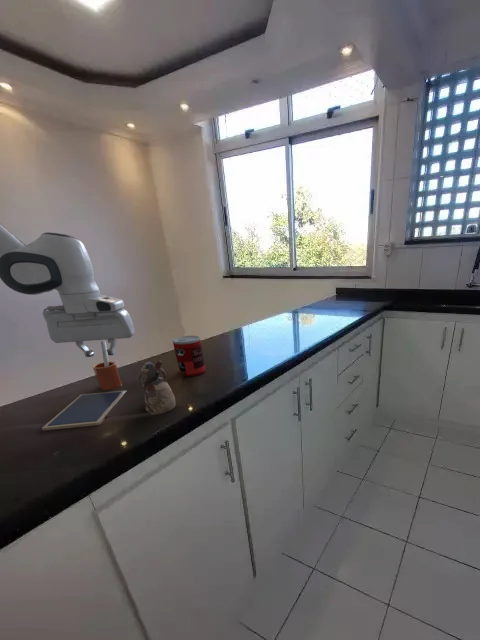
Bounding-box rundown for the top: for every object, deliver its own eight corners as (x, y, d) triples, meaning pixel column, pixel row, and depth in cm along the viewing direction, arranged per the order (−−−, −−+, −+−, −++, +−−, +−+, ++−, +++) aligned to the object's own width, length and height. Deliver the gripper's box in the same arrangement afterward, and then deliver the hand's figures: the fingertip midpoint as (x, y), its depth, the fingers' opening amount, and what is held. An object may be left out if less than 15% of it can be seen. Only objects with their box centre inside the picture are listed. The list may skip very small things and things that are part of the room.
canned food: (180, 370, 101) (173, 337, 96) (205, 367, 103) (199, 334, 98) (179, 378, 95) (171, 343, 90) (206, 374, 97) (200, 340, 92)
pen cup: (97, 392, 87) (88, 369, 84) (105, 384, 92) (98, 362, 89) (118, 390, 88) (110, 367, 85) (125, 382, 93) (118, 360, 90)
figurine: (146, 404, 79) (134, 359, 74) (176, 399, 81) (165, 355, 76) (144, 417, 73) (130, 369, 68) (176, 411, 75) (165, 364, 70)
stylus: (106, 387, 88) (99, 340, 87) (108, 386, 90) (102, 341, 89) (111, 386, 88) (104, 340, 88) (113, 386, 90) (106, 340, 89)
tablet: (42, 430, 69) (41, 427, 69) (81, 396, 85) (80, 394, 85) (100, 425, 70) (98, 421, 70) (127, 392, 86) (126, 389, 86)
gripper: (32, 308, 76) (54, 362, 82) (120, 303, 78) (135, 356, 84) (47, 304, 81) (66, 355, 87) (129, 300, 84) (142, 349, 90)
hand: (101, 355), depth 86 cm, fingers open, 4 cm apart
